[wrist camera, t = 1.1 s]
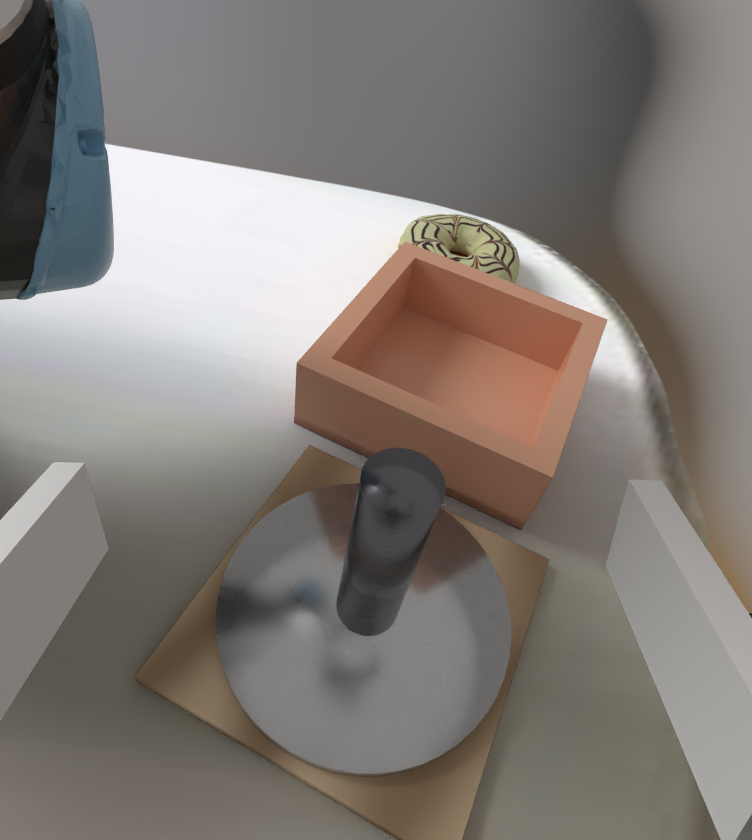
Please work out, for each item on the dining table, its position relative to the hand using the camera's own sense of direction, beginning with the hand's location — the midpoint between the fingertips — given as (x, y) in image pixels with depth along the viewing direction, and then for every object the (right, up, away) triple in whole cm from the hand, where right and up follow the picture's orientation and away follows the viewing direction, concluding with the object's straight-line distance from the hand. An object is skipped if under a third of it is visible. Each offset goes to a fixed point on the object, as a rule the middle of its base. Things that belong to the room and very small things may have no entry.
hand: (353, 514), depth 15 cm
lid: (0, -8, +16) cm, 18 cm away
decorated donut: (+7, +15, +39) cm, 42 cm away
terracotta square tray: (+6, +4, +28) cm, 29 cm away
